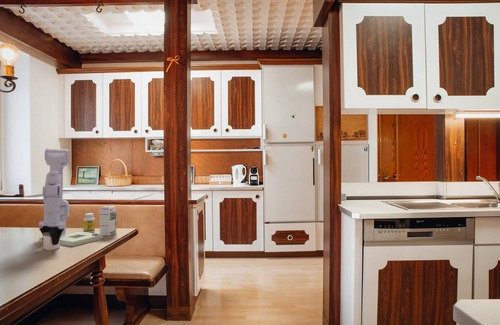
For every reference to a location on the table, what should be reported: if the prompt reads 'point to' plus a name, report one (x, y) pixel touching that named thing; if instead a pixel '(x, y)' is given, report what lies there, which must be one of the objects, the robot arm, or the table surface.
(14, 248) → the table surface
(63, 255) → the table surface
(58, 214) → the robot arm
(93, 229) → the supplement bottle
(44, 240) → the plug
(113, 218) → the syrup box
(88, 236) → the socket block
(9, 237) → the table surface
